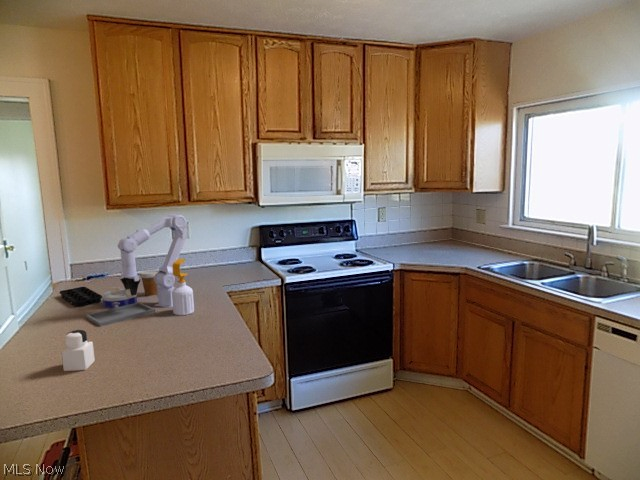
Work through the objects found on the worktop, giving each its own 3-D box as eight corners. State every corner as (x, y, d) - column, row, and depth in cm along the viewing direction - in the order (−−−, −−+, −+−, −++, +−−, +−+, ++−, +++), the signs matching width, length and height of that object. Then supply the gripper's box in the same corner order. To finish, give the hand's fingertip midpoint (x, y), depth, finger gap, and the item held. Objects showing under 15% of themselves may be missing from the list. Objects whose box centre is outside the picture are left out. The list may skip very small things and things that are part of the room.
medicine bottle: (73, 362, 151) (69, 328, 149) (95, 361, 151) (91, 327, 149) (63, 371, 144) (59, 336, 142) (86, 370, 144) (82, 335, 142)
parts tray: (139, 306, 212) (139, 302, 211) (155, 313, 201) (155, 308, 200) (86, 319, 195) (85, 314, 194) (100, 327, 184) (99, 322, 183)
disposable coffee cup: (138, 296, 229) (135, 273, 227) (151, 291, 237) (149, 269, 236) (152, 297, 225) (150, 275, 223) (165, 292, 234) (163, 270, 232)
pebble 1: (118, 291, 216) (118, 285, 216) (122, 293, 213) (121, 287, 213) (109, 293, 213) (108, 287, 213) (112, 295, 210) (112, 289, 210)
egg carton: (79, 309, 210) (78, 302, 209) (48, 300, 227) (47, 293, 226) (113, 300, 224) (113, 293, 224) (82, 292, 241) (81, 285, 240)
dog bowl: (103, 311, 205) (102, 299, 204) (102, 303, 219) (101, 291, 218) (138, 306, 212) (137, 294, 211) (135, 298, 226) (134, 287, 225)
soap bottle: (198, 310, 203) (194, 258, 199) (184, 316, 195) (180, 262, 191) (183, 308, 207) (179, 257, 203) (169, 314, 198) (164, 261, 194)
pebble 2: (134, 294, 204) (133, 287, 203) (138, 296, 201) (138, 289, 200) (124, 296, 201) (124, 289, 200) (129, 298, 198) (128, 291, 197)
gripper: (113, 264, 200) (116, 293, 203) (126, 268, 190) (129, 298, 193) (128, 261, 205) (131, 289, 208) (142, 265, 196) (145, 295, 198)
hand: (131, 294), depth 200 cm, fingers closed on pebble 2, 4 cm apart
